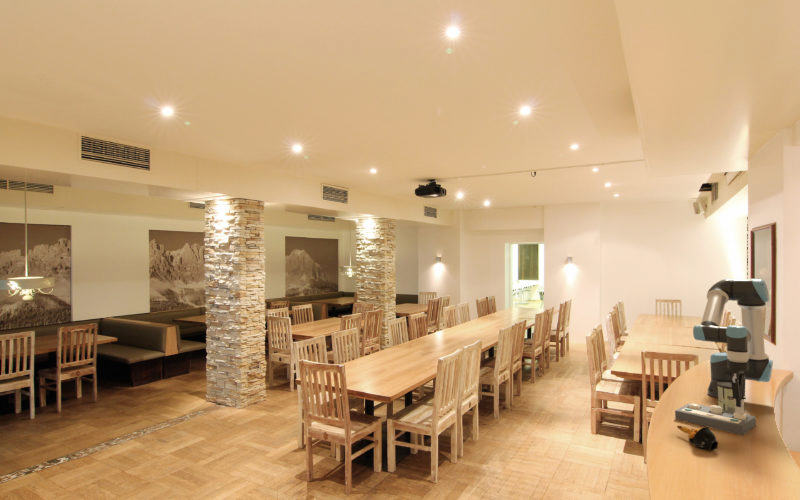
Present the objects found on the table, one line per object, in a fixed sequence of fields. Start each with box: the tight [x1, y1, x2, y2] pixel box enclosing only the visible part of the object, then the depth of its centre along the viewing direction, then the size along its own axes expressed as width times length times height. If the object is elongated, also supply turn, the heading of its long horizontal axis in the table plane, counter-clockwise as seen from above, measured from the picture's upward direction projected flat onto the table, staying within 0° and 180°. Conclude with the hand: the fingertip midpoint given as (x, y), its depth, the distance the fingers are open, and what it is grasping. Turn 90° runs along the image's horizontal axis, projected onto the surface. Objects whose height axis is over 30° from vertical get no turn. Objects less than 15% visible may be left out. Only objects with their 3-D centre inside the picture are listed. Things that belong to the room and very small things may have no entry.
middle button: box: [709, 404, 722, 415], centre depth 206 cm, size 4×4×5 cm
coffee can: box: [717, 382, 746, 414], centre depth 215 cm, size 10×10×14 cm
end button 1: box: [688, 403, 701, 410], centre depth 213 cm, size 4×4×5 cm
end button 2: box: [734, 413, 747, 420], centre depth 199 cm, size 4×4×5 cm
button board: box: [674, 402, 757, 436], centre depth 204 cm, size 18×26×4 cm
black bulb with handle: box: [676, 425, 719, 451], centre depth 181 cm, size 9×11×18 cm
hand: (739, 413), depth 199 cm, fingers closed
